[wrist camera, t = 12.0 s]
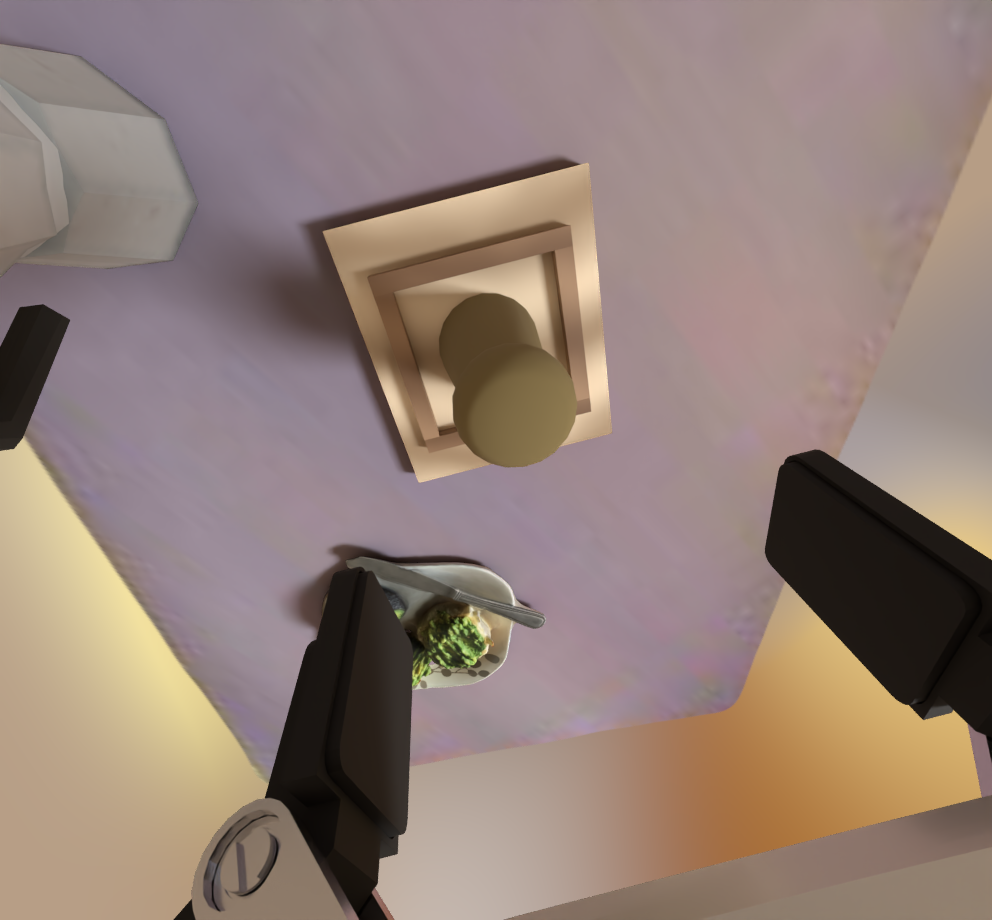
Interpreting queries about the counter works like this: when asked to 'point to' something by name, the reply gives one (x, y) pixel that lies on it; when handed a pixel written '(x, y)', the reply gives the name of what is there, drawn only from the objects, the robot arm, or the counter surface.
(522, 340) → the cork
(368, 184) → the counter surface
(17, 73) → the coffee maker
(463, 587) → the salad plate
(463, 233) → the maple board
